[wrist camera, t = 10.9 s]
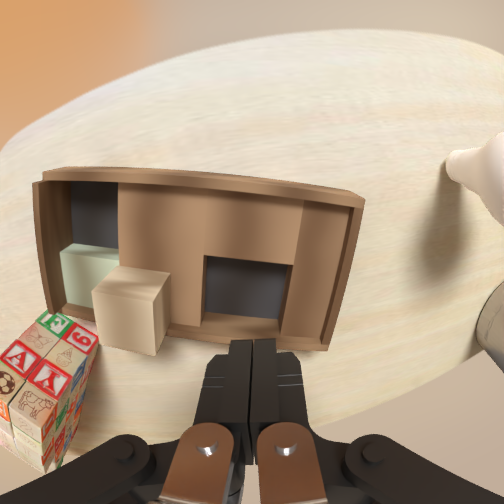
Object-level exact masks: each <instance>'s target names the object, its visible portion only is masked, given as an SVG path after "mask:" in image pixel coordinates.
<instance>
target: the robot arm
mask: <svg viewBox="0 0 504 504" xmlns="http://www.w3.org/2000/svg"><path fill="white" fill-rule="evenodd" d="M476 337H477V341H478V343H479V344H480V346H481V347H482V348H483V349H484V350H485V351H486V352H487V353H488V355H489V356H490V357H491V358H492V359H493V360H494V362H495V363H496V364H497V365H498V367H499V368H500V369H501V370H502V371H503V373H504V282H503V283H502V284H501V285H500V286H499V287H498V288H497V289H496V290H495V291H494V293H493V294H492V295H491V297H490V298H489V300H488V301H487V303H486V305H485V306H484V308H483V311H482V313H481V315H480V318H479V321H478V325H477V330H476ZM254 457H255V464H256V465H258V473H259V487H260V501H261V504H504V497H502V496H500V495H497V494H495V493H493V492H491V491H489V490H486V489H484V488H482V487H480V486H478V485H475V484H473V483H471V482H469V481H467V480H465V479H463V478H461V477H459V476H457V475H455V474H453V473H451V472H449V471H447V470H445V469H443V468H442V467H440V466H438V465H436V464H434V463H432V462H430V461H429V460H427V459H425V458H423V457H421V456H419V455H418V454H416V453H414V452H412V451H411V450H409V449H407V448H405V447H404V446H402V445H400V444H398V443H397V442H395V441H393V440H392V439H390V438H388V437H386V436H383V435H378V434H370V435H365V436H362V437H359V438H357V439H356V440H354V441H353V442H352V443H351V444H349V443H340V442H333V441H329V440H326V439H323V438H321V437H319V436H318V435H317V434H315V433H314V432H313V430H312V429H311V428H310V425H309V423H308V417H307V409H306V401H305V394H304V387H303V379H302V372H301V365H300V361H299V360H298V359H297V357H296V356H295V355H294V354H293V352H284V353H277V352H276V338H267V339H254V345H253V339H241V340H231V341H230V347H229V353H228V354H226V355H215V356H214V357H213V358H212V360H211V361H210V362H209V363H208V364H207V368H206V372H205V378H204V380H203V385H202V389H201V393H200V398H199V402H198V406H197V411H196V415H195V419H194V423H193V426H192V427H190V428H188V429H187V430H186V431H185V432H184V433H183V434H182V436H181V438H179V439H177V440H175V441H172V442H167V443H160V444H153V445H147V443H146V442H145V441H144V440H143V439H142V438H140V437H138V436H135V435H130V434H124V435H119V436H116V437H114V438H112V439H110V440H108V441H107V442H105V443H103V444H101V445H100V446H98V447H96V448H94V449H93V450H91V451H89V452H87V453H86V454H84V455H82V456H80V457H78V458H76V459H75V460H73V461H71V462H69V463H67V464H65V465H63V466H62V467H60V468H58V469H56V470H54V471H52V472H50V473H48V474H46V475H44V476H42V477H40V478H38V479H36V480H34V481H32V482H30V483H27V484H25V485H23V486H21V487H19V488H16V489H14V490H12V491H10V492H8V493H5V494H3V495H0V504H241V501H242V494H243V487H244V478H245V465H253V459H254Z"/></svg>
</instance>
